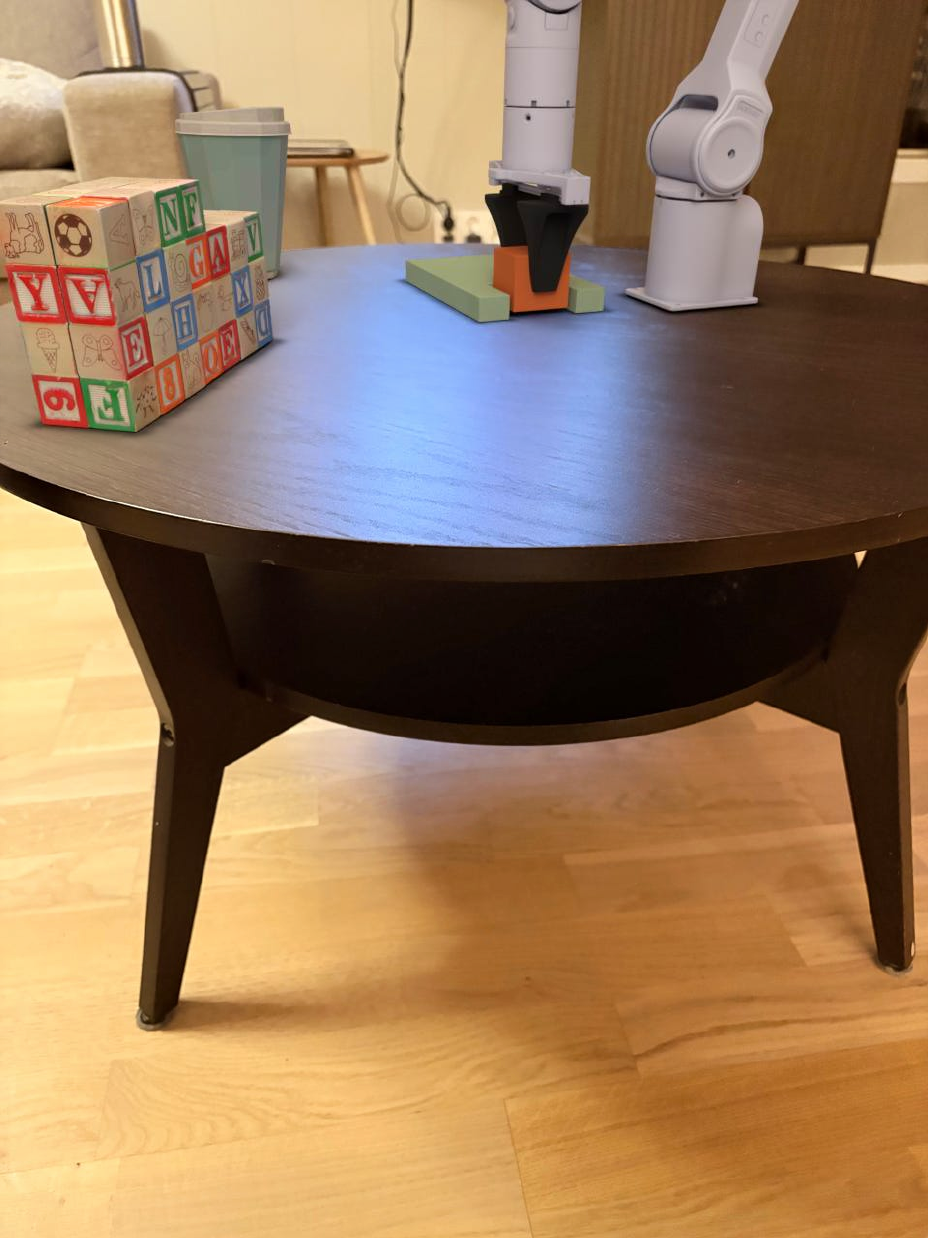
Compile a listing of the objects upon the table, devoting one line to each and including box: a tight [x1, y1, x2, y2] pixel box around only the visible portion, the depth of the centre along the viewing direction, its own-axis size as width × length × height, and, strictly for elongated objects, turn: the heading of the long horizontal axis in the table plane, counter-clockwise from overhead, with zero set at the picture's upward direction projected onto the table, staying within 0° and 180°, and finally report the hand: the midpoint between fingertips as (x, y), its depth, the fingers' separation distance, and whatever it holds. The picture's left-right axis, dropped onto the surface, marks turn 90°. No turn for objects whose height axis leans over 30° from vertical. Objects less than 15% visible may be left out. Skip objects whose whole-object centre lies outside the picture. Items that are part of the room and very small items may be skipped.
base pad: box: [405, 253, 606, 323], centre depth 86 cm, size 12×18×2 cm, turn 23°
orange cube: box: [493, 246, 572, 313], centre depth 80 cm, size 5×4×4 cm
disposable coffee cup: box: [174, 106, 292, 279], centre depth 90 cm, size 11×11×15 cm
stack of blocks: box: [0, 176, 274, 433], centre depth 60 cm, size 21×6×12 cm, turn 168°
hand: (530, 285), depth 81 cm, fingers closed on orange cube, 4 cm apart
